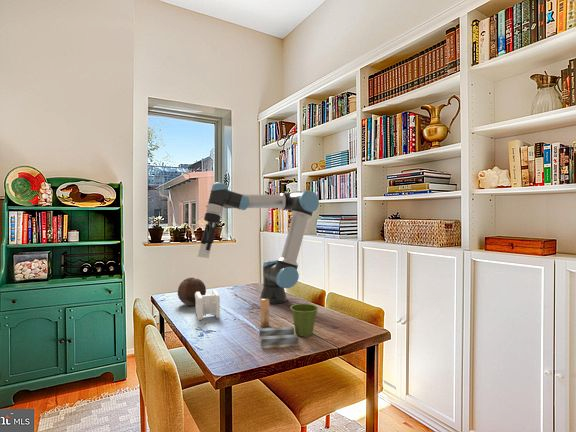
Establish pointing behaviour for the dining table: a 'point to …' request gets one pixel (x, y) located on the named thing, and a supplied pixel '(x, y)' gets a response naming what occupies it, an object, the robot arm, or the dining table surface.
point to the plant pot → (304, 318)
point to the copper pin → (264, 312)
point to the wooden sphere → (190, 290)
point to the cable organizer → (207, 304)
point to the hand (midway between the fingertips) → (202, 257)
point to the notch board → (277, 337)
